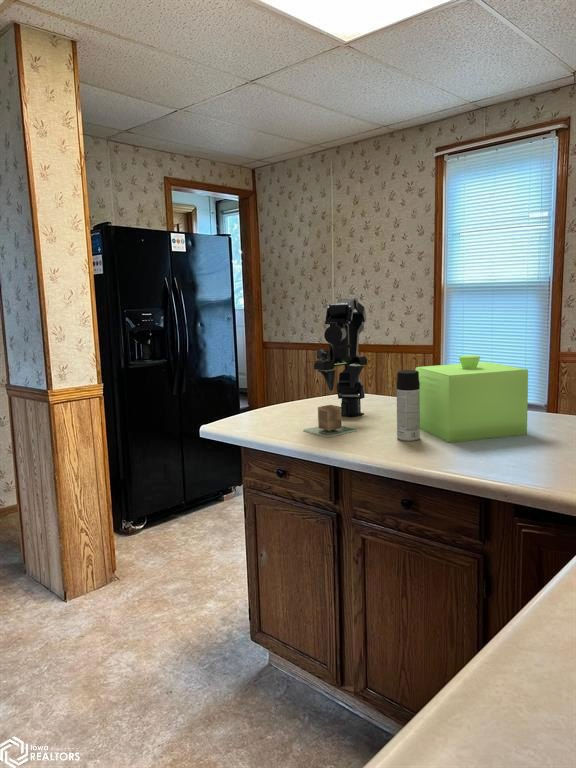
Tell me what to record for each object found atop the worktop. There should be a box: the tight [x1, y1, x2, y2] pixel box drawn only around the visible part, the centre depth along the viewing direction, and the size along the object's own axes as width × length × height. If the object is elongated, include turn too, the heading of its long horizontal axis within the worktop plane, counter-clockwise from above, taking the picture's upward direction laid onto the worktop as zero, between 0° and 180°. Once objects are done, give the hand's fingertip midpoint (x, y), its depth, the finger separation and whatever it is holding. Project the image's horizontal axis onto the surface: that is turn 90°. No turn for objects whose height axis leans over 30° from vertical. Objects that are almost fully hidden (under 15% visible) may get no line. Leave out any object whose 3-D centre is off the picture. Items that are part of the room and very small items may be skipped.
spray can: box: [396, 369, 421, 442], centre depth 169 cm, size 7×7×20 cm
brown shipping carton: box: [317, 404, 343, 431], centre depth 183 cm, size 5×5×7 cm
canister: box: [415, 354, 529, 444], centre depth 175 cm, size 25×21×23 cm
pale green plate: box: [303, 425, 358, 438], centre depth 183 cm, size 12×12×7 cm
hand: (341, 388), depth 190 cm, fingers open, 9 cm apart
